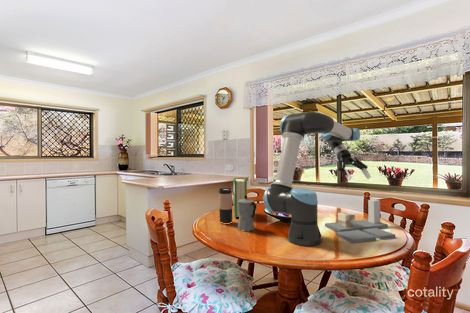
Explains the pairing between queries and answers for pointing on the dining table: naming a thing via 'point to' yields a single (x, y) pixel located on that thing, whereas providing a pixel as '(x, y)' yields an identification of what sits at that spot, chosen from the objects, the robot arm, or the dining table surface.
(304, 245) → the robot arm
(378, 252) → the dining table surface
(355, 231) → the broken strip
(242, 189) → the hardback book
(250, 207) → the coffeepot
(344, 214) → the birch cube
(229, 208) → the travel mug
